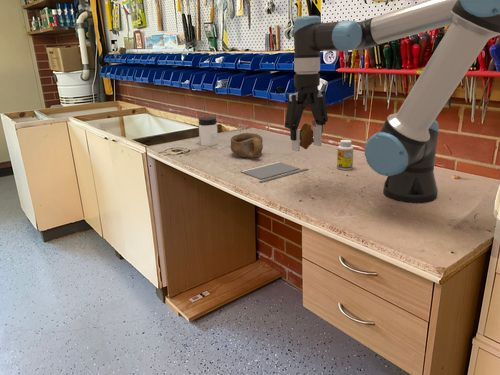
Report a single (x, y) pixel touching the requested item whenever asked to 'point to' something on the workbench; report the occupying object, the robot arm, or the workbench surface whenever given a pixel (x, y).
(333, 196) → the workbench surface
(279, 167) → the mat
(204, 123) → the jar
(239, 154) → the bowl
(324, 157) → the workbench surface
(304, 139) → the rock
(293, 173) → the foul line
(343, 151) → the supplement bottle
